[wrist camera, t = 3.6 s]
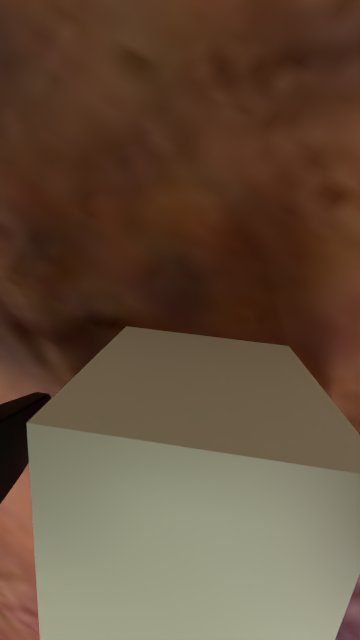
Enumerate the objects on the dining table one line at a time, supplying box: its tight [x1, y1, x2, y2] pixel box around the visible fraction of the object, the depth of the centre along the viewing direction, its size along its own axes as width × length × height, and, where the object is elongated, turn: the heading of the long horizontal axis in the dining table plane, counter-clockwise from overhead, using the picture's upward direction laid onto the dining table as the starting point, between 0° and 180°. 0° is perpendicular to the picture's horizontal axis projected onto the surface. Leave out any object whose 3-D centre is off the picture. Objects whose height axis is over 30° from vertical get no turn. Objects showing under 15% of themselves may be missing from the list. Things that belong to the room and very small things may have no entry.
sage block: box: [26, 326, 360, 640], centre depth 7 cm, size 5×5×5 cm
